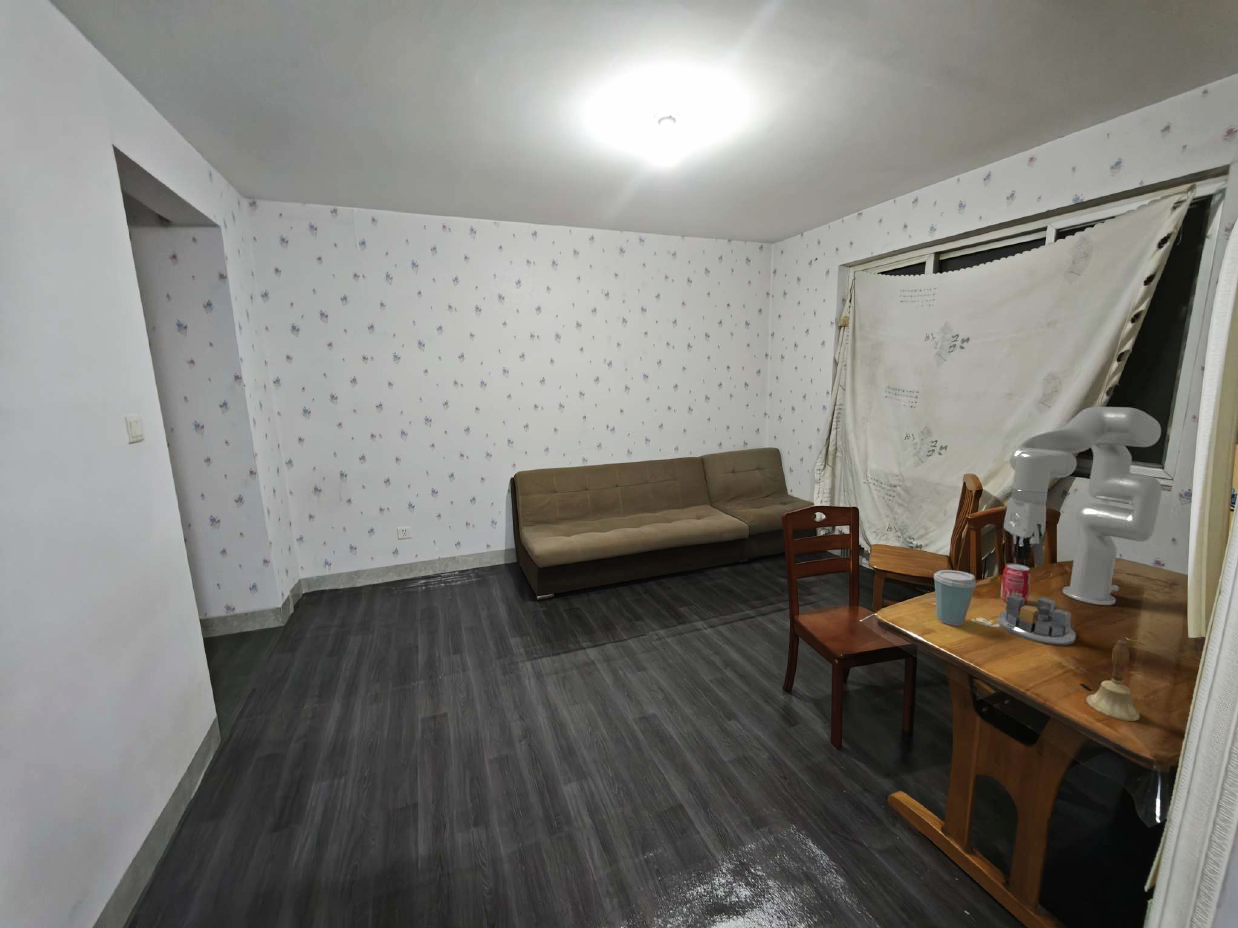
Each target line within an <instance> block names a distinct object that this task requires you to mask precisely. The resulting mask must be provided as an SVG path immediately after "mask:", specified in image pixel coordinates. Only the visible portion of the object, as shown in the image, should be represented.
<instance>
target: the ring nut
mask: <svg viewBox="0 0 1238 928" xmlns="http://www.w3.org/2000/svg"><path fill="white" fill-rule="evenodd" d="M1024 601H1025V598H1022V597H1019V596H1016V595H1011V596H1008V600H1007V602H1006V607H1005V609H1004V612H1005V615H1004V616H1005V619H1006V620H1007V622H1009V623H1011V624H1012V625H1014V626H1018V628H1020V629H1023V630H1026V631H1029V632H1032V631H1033V632H1034V633H1036V634H1041V635H1046V636H1048V635H1050V636H1065V635H1067V634H1069V631H1070V628H1071V618H1072V617H1071V616H1072V612H1070V611H1066V610H1063V609H1061V608H1056V609H1055V607H1056V600H1053V599H1049V598H1047V597H1043V596H1042V597H1041V598H1038V599H1037V604H1036V605H1037V606H1032V605H1028V604H1027V605H1026V604H1024ZM1039 611H1040V612H1043V613H1045V614H1047V615H1048V618H1047V622H1043V621H1037V619H1038V612H1039Z"/></svg>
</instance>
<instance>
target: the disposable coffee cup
mask: <svg viewBox="0 0 1238 928" xmlns="http://www.w3.org/2000/svg"><path fill="white" fill-rule="evenodd" d="M933 579H934V589H935V591H934V593H935V606H936V608H935V609H936V616H937V617H936V618H937V620H938V621H940V622H941V623H943V624H946V625H948V626H949V625H950V626H955V627H956V626H957V627H958V626H959V627H960V626H962V625H963V623H965V620H966V617H967V614H968V611H969V606H970V605H971V602H972V597H973V596H974V595H973V594H974V592H975V589H976V587H977V581H976V578H975V574H972V573H969V572H966V571H961V570H952V569H951V570H950V569H945V570H944V569H943V570H939V571H936V572H935V573H934V574H933Z"/></svg>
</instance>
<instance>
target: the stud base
mask: <svg viewBox="0 0 1238 928" xmlns="http://www.w3.org/2000/svg"><path fill="white" fill-rule="evenodd" d="M1004 615H1005V611H1004V612H1000V613H999V614H998V617H997V624H998V625H999V626H1000V627H1001V628H1002V629H1004V630H1005V631H1007V632H1009V634H1010V633H1011V634H1013V635H1015V636H1017V637H1020V638H1022V639H1025V640H1027V641H1030V642H1031V641H1032V642H1034V643H1039V644H1045V645H1052V646H1068V645H1069V646H1070V645H1072V644H1073V643H1075V641H1076V636H1077V635H1076V632H1075V631H1074V630H1073V628H1071V627H1070V631H1069V634H1067V635H1065V636H1050V635H1048V636H1046V635H1041V634H1036V633H1034V632H1033V631H1032V632H1029V631H1026V630H1023V629H1020V628H1018V626H1014V625H1012V624H1011V623H1009V622H1007V620H1006V619H1005V616H1004ZM1047 618H1048V615H1047V614H1045V613H1043V612H1040V611H1039V612H1038V619H1037V621H1043V622H1047Z"/></svg>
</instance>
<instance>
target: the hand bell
mask: <svg viewBox="0 0 1238 928" xmlns="http://www.w3.org/2000/svg"><path fill="white" fill-rule="evenodd" d="M1129 660H1130V650H1129V647H1128V642H1127V641H1125V640H1122V639H1119V640H1118V641H1117V643H1116V644H1115V645H1114V647H1113V648H1112V652H1111V661H1112V664H1113V668H1112V673H1111V680H1104V681H1102V682H1101V683H1100V686H1099V688H1098V690H1097V691H1096V692H1095V693H1094V694H1090V695H1088V696H1087V697H1086V699H1085V700H1086V704H1088V705H1089V706H1090V707H1091V708H1092V709H1093V710H1095V711H1096V712H1098V713H1100V714H1103V715H1105V716H1107V717H1110V718H1113V719H1116V720H1120V721H1124V722H1136V721H1138V720H1140V718H1141V717H1140V714H1139V712H1138V710H1137V709H1136V708H1135V707H1134V706H1133V704H1132V703H1133V702H1132V698H1131V689H1130V688H1129V687H1128V686H1126V685H1124V684H1123V683H1124V681H1123V680H1124V671H1125V668H1126V666H1127V665H1128V664H1129Z"/></svg>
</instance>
